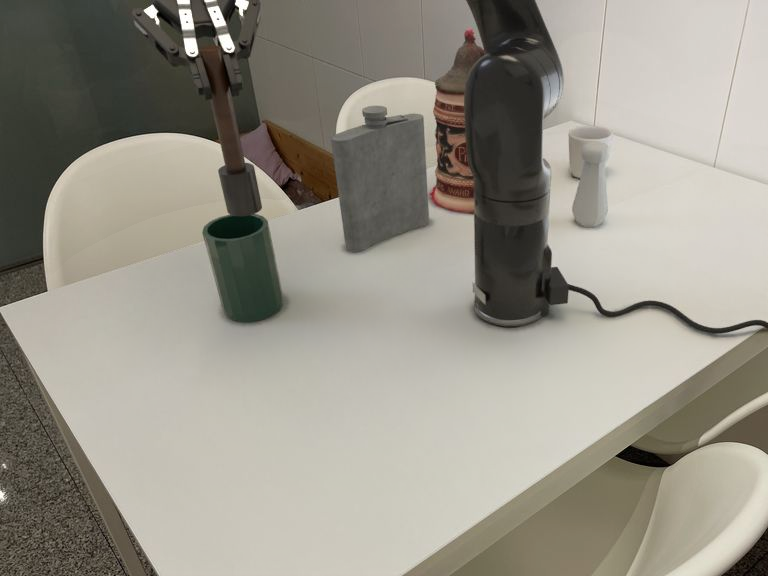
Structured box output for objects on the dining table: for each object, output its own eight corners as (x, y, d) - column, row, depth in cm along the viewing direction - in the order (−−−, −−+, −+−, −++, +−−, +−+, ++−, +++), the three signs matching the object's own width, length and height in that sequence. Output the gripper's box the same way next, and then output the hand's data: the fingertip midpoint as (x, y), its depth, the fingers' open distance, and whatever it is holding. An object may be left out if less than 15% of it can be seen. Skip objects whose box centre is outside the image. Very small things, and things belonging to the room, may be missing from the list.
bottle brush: (262, 200, 85) (231, 42, 74) (261, 214, 81) (228, 51, 71) (228, 203, 84) (192, 44, 73) (226, 217, 81) (187, 53, 70)
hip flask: (353, 254, 107) (336, 124, 95) (338, 245, 110) (320, 117, 98) (433, 222, 116) (426, 99, 104) (417, 215, 118) (409, 94, 106)
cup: (614, 188, 126) (618, 145, 121) (569, 189, 126) (572, 145, 121) (605, 166, 134) (609, 125, 130) (563, 167, 135) (566, 125, 130)
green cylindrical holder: (284, 288, 99) (268, 210, 92) (283, 318, 93) (266, 237, 86) (226, 294, 98) (206, 216, 91) (221, 325, 92) (199, 243, 85)
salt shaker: (566, 226, 114) (572, 148, 106) (575, 212, 118) (581, 136, 110) (602, 231, 112) (610, 152, 104) (610, 217, 116) (618, 140, 108)
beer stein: (482, 232, 118) (538, 187, 129) (490, 66, 98) (554, 29, 109) (406, 200, 124) (465, 160, 135) (398, 38, 105) (468, 7, 116)
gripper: (102, -76, 69) (147, 82, 67) (244, -83, 74) (289, 65, 72) (116, -23, 76) (157, 122, 74) (244, -33, 81) (286, 103, 79)
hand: (222, 93), depth 73 cm, fingers closed on bottle brush, 2 cm apart
